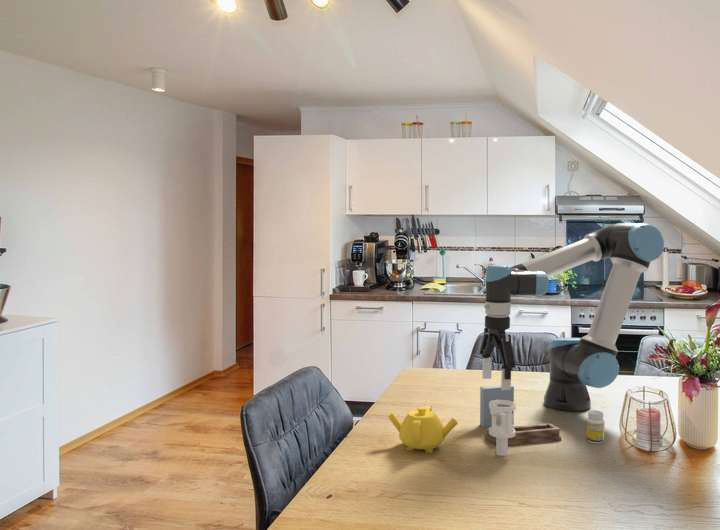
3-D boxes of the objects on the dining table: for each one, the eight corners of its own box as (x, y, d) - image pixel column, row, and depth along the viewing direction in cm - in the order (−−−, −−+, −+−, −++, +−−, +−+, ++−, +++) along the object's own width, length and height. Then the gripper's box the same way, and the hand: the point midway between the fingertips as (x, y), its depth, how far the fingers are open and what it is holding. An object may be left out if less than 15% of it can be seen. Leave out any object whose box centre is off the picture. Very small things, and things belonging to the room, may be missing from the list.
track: (546, 430, 185) (547, 421, 185) (561, 440, 177) (561, 429, 177) (484, 436, 181) (484, 426, 181) (496, 446, 173) (496, 435, 173)
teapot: (463, 440, 178) (463, 402, 178) (451, 463, 162) (451, 421, 161) (396, 432, 185) (396, 396, 184) (378, 454, 168) (378, 414, 167)
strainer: (483, 451, 169) (483, 397, 168) (504, 447, 172) (505, 394, 171) (498, 460, 163) (499, 404, 162) (520, 456, 166) (521, 401, 165)
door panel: (509, 421, 194) (509, 384, 193) (513, 424, 191) (513, 386, 190) (479, 424, 192) (479, 386, 191) (483, 427, 189) (483, 388, 188)
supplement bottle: (591, 437, 180) (591, 408, 179) (607, 441, 176) (607, 412, 176) (583, 441, 176) (584, 412, 176) (599, 445, 173) (600, 416, 172)
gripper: (470, 310, 200) (468, 374, 202) (504, 322, 176) (502, 395, 177) (491, 309, 202) (490, 373, 203) (528, 321, 178) (526, 394, 179)
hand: (496, 383), depth 190 cm, fingers open, 13 cm apart
